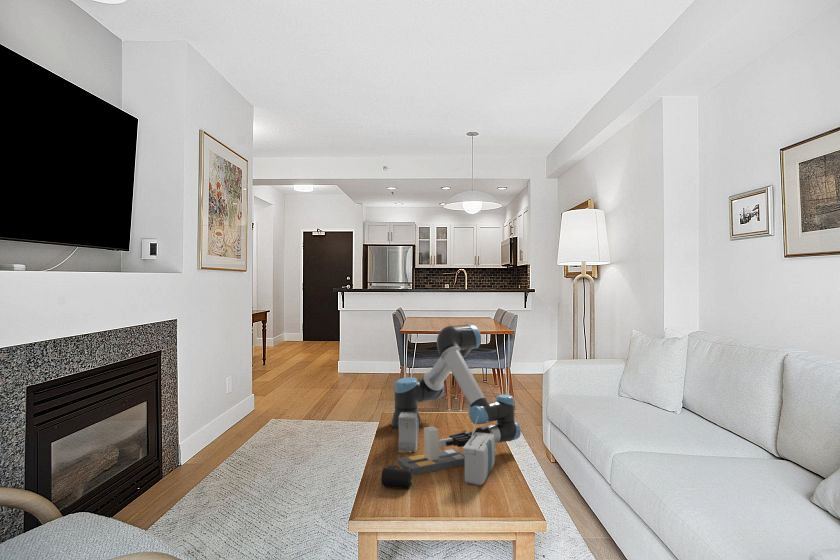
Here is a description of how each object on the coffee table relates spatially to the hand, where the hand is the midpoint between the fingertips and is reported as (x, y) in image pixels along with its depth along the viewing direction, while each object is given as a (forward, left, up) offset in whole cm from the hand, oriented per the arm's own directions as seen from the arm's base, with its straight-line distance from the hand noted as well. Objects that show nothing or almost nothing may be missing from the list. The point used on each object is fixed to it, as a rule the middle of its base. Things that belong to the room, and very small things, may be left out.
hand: (437, 443), depth 193 cm
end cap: (+12, -23, -9) cm, 27 cm away
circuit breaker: (-24, -2, -9) cm, 26 cm away
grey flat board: (-1, -2, -8) cm, 9 cm away
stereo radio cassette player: (+16, +9, -9) cm, 20 cm away
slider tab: (-1, -2, -6) cm, 6 cm away
